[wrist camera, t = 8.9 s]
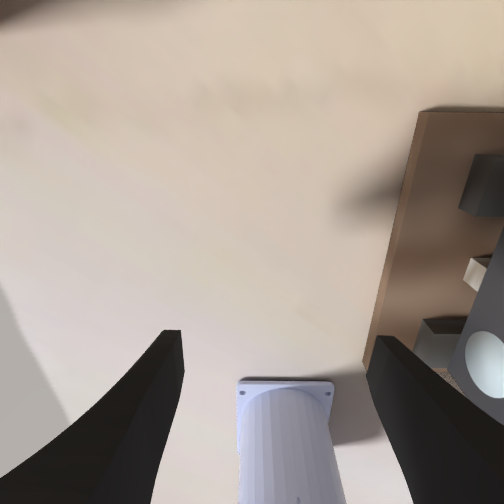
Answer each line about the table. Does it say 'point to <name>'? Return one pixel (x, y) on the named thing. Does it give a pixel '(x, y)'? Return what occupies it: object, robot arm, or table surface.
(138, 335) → the table surface
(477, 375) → the long gray beam
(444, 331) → the display stand
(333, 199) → the table surface
